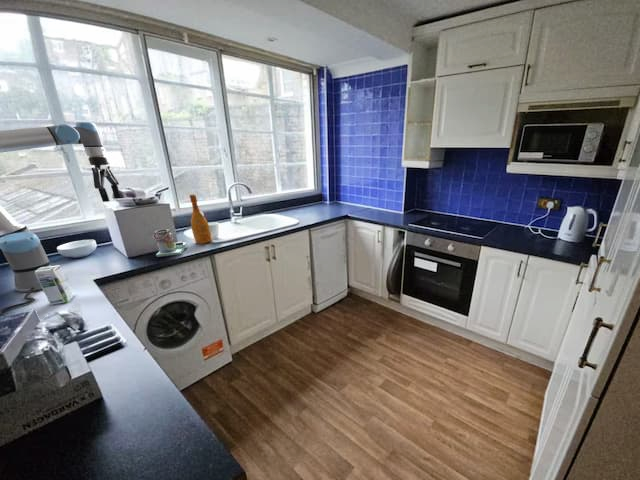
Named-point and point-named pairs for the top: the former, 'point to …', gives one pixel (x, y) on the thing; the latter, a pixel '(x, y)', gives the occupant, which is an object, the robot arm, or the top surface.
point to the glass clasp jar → (164, 240)
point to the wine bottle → (199, 224)
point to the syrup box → (54, 284)
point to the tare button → (178, 243)
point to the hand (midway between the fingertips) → (112, 199)
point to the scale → (177, 251)
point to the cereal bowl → (77, 248)
